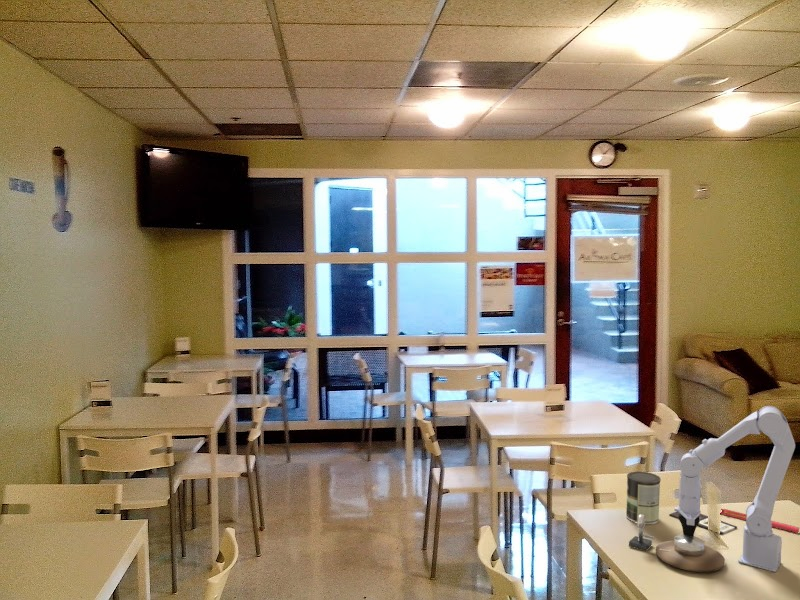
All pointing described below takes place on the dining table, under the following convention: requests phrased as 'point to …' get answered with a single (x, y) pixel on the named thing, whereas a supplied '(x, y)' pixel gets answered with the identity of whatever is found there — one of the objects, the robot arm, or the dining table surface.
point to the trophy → (641, 536)
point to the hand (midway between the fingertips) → (688, 539)
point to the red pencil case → (774, 524)
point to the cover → (689, 545)
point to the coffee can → (643, 496)
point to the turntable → (690, 558)
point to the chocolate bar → (704, 523)
